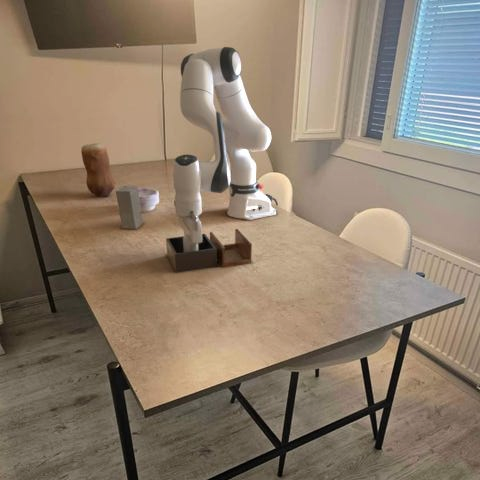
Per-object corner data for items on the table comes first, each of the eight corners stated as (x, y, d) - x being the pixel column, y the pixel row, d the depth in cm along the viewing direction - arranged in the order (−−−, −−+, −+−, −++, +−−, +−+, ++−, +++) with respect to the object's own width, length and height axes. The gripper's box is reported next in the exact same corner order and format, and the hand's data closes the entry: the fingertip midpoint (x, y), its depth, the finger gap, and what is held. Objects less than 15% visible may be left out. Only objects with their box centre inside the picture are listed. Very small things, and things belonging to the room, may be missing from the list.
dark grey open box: (205, 250, 161) (204, 233, 157) (217, 266, 149) (216, 248, 146) (167, 255, 156) (165, 238, 153) (176, 272, 145) (174, 254, 141)
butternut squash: (94, 191, 219) (85, 140, 206) (120, 192, 219) (112, 140, 205) (85, 200, 208) (74, 146, 194) (112, 201, 207) (104, 146, 194)
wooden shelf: (237, 246, 164) (237, 228, 160) (251, 262, 152) (252, 243, 148) (209, 250, 161) (209, 231, 157) (222, 267, 149) (221, 247, 145)
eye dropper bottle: (188, 261, 149) (186, 229, 143) (183, 255, 154) (181, 223, 147) (199, 259, 151) (198, 227, 144) (194, 253, 155) (192, 221, 149)
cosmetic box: (136, 230, 176) (131, 192, 168) (120, 228, 178) (114, 190, 169) (144, 223, 183) (139, 186, 175) (128, 221, 185) (123, 184, 176)
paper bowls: (147, 201, 208) (146, 185, 203) (166, 209, 199) (164, 192, 194) (120, 208, 199) (117, 191, 194) (138, 216, 190) (136, 199, 185)
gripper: (206, 216, 135) (207, 256, 143) (190, 197, 151) (192, 234, 159) (187, 218, 133) (189, 259, 141) (172, 199, 149) (175, 236, 157)
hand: (190, 245), depth 150 cm, fingers closed on eye dropper bottle, 5 cm apart
